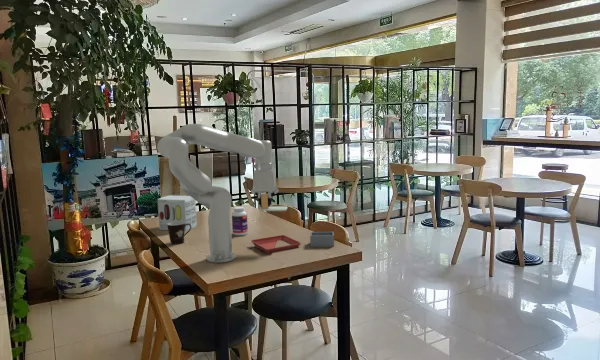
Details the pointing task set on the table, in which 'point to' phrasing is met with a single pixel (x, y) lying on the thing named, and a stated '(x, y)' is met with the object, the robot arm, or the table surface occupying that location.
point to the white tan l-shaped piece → (265, 207)
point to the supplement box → (177, 211)
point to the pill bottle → (239, 221)
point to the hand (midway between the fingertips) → (265, 205)
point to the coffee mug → (177, 232)
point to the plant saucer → (274, 243)
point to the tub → (322, 239)
